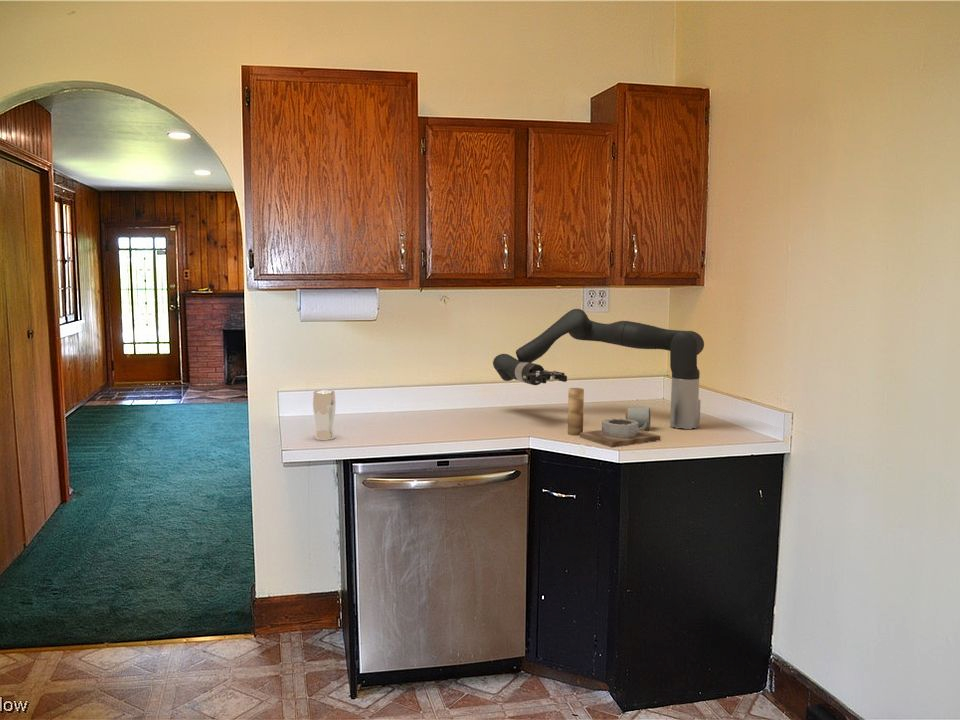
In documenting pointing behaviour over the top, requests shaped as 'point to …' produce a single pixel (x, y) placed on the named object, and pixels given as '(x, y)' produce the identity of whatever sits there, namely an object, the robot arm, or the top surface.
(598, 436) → the walnut board
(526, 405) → the top surface
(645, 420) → the ceramic mug
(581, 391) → the oak peg
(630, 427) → the steel sleeve
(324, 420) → the beer glass
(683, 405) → the robot arm
